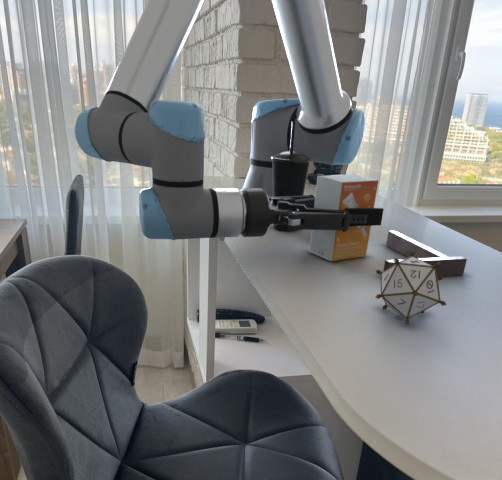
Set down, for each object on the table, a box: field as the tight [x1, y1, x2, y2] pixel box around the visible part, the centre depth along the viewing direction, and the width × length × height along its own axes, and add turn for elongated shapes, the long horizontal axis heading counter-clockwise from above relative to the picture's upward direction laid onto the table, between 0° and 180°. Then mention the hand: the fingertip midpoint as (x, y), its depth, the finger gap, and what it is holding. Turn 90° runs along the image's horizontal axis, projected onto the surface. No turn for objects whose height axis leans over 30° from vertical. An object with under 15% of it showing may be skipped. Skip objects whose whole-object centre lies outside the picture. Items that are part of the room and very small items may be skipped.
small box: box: [308, 173, 379, 262], centre depth 85 cm, size 8×6×13 cm
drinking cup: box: [271, 122, 311, 232], centre depth 98 cm, size 8×8×20 cm
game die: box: [374, 250, 447, 327], centre depth 63 cm, size 9×8×10 cm
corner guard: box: [382, 230, 468, 278], centre depth 86 cm, size 17×14×3 cm
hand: (368, 210), depth 86 cm, fingers closed on small box, 8 cm apart
